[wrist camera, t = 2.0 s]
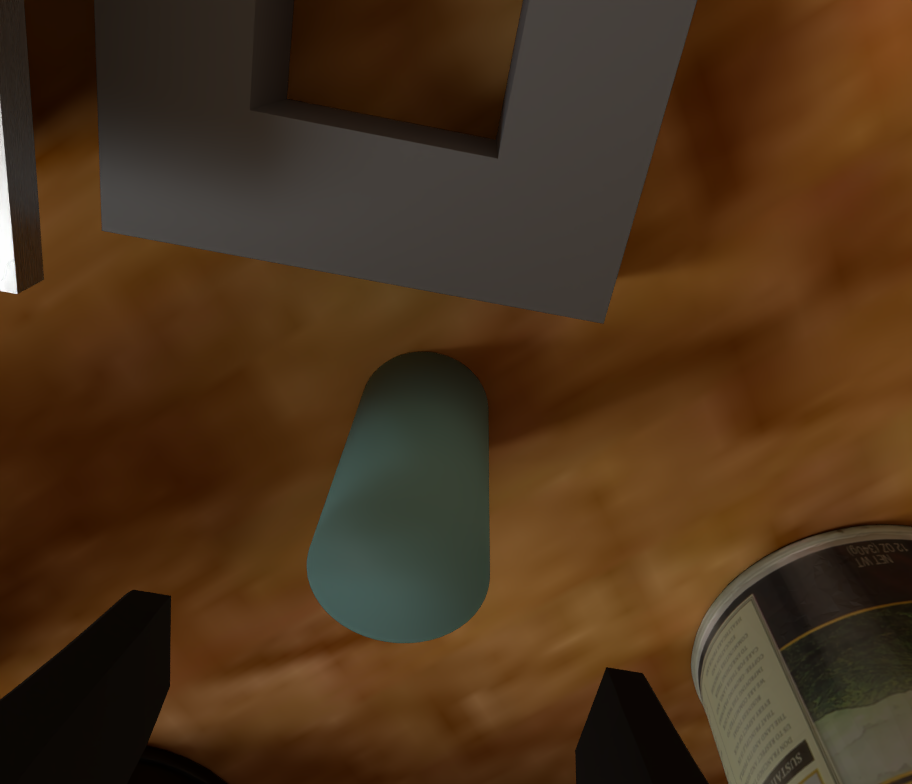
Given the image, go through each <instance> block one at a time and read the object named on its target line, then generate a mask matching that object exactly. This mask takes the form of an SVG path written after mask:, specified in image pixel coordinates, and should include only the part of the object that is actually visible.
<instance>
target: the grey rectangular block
mask: <svg viewBox="0 0 912 784" xmlns="http://www.w3.org/2000/svg"><path fill="white" fill-rule="evenodd" d="M42 280H44V273H43V259H42V245H41V231H40V217H39V203H38V189H37V175H36V162H35V148H34V134H33V120H32V106H31V92H30V78H29V64H28V50H27V36H26V22H25V8H24V0H0V291H3V292H9V293H14V294H19V293H20V292H22V291H24V290H26V289H28V288H29V287H31V286H33V285H35V284H37V283H39V282H40V281H42Z"/></svg>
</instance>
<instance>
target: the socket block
mask: <svg viewBox="0 0 912 784" xmlns="http://www.w3.org/2000/svg"><path fill="white" fill-rule="evenodd" d="M696 2H697V0H523V4H522V9H521V14H520V19H519V24H518V30H517V35H516V40H515V45H514V50H513V55H512V60H511V65H510V70H509V75H508V81H507V86H506V91H505V96H504V101H503V106H502V111H501V116H500V121H499V126H498V132H497V137H496V140H494V139H489V138H484V137H479V136H473V135H468V134H463V133H458V132H453V131H448V130H443V129H438V128H433V127H428V126H422V125H417V124H412V123H407V122H402V121H397V120H392V119H387V118H382V117H377V116H371V115H366V114H361V113H356V112H351V111H346V110H341V109H336V108H331V107H326V106H320V105H315V104H310V103H305V102H300V101H295V100H290V99H287V90H288V76H289V62H290V49H291V35H292V21H293V8H294V0H94V13H95V42H96V71H97V101H98V130H99V159H100V189H101V218H102V231H107V232H112V233H117V234H123V235H128V236H134V237H139V238H144V239H150V240H155V241H161V242H166V243H171V244H177V245H182V246H188V247H193V248H198V249H204V250H209V251H215V252H220V253H225V254H231V255H236V256H242V257H247V258H252V259H258V260H263V261H268V262H274V263H279V264H285V265H290V266H295V267H301V268H306V269H312V270H317V271H322V272H328V273H333V274H339V275H344V276H349V277H355V278H360V279H366V280H371V281H376V282H382V283H387V284H393V285H398V286H403V287H409V288H414V289H419V290H425V291H430V292H436V293H441V294H446V295H452V296H457V297H463V298H468V299H473V300H479V301H484V302H490V303H495V304H500V305H506V306H511V307H517V308H522V309H527V310H533V311H538V312H544V313H549V314H554V315H560V316H565V317H570V318H576V319H581V320H587V321H592V322H597V323H603V324H604V320H605V317H606V313H607V310H608V306H609V303H610V300H611V296H612V293H613V289H614V286H615V282H616V279H617V275H618V272H619V268H620V265H621V261H622V258H623V255H624V251H625V248H626V244H627V241H628V237H629V234H630V230H631V227H632V223H633V220H634V217H635V213H636V210H637V206H638V203H639V199H640V196H641V192H642V189H643V185H644V182H645V179H646V175H647V172H648V168H649V165H650V161H651V158H652V154H653V151H654V147H655V144H656V141H657V137H658V134H659V130H660V127H661V123H662V120H663V116H664V113H665V109H666V106H667V102H668V99H669V96H670V92H671V89H672V85H673V82H674V78H675V75H676V71H677V68H678V64H679V61H680V58H681V54H682V51H683V47H684V44H685V40H686V37H687V33H688V30H689V26H690V23H691V20H692V16H693V13H694V9H695V6H696Z"/></svg>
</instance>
